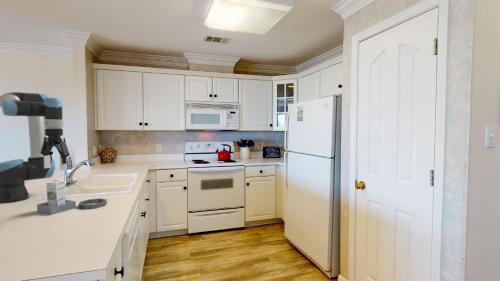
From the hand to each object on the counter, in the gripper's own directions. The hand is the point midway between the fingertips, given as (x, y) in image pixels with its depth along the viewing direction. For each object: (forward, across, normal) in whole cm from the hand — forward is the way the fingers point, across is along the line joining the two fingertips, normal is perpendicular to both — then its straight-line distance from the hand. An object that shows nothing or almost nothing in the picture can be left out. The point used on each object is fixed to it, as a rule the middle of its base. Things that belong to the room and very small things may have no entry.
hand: (55, 169), depth 140 cm
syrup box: (+21, +1, 0) cm, 21 cm away
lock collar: (+21, +11, +13) cm, 27 cm away
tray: (+21, +1, 0) cm, 21 cm away
